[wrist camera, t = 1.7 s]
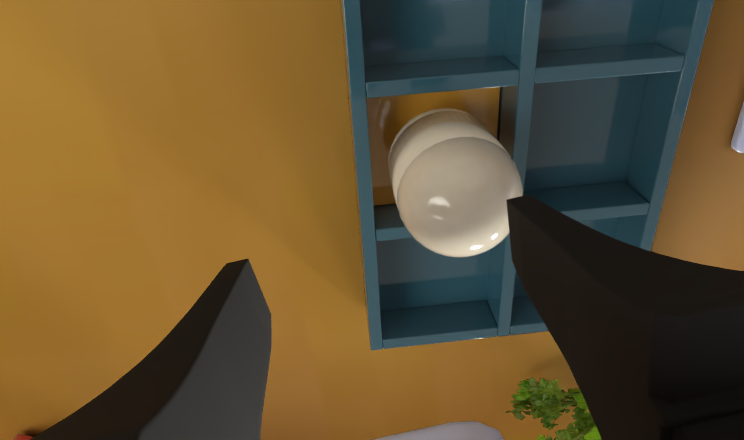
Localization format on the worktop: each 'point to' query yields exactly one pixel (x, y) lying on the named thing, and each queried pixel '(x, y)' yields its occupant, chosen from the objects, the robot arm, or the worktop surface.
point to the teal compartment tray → (513, 135)
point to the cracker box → (22, 437)
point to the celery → (555, 409)
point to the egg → (452, 182)
